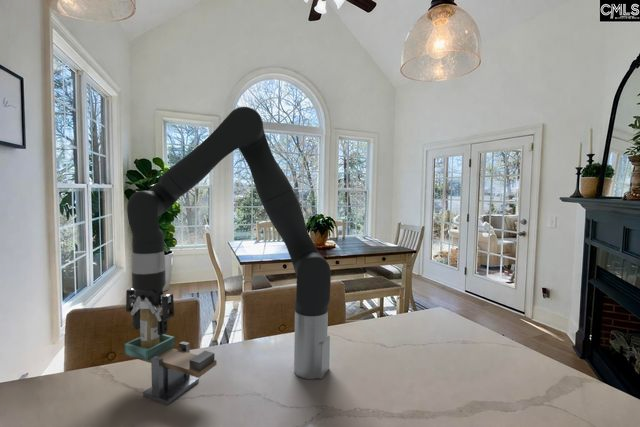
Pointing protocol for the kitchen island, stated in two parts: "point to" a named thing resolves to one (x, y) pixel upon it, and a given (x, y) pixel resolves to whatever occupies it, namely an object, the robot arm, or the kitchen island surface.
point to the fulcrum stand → (168, 380)
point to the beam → (172, 356)
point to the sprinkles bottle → (148, 326)
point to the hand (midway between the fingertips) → (150, 331)
